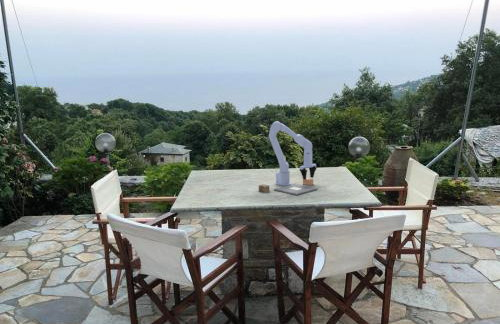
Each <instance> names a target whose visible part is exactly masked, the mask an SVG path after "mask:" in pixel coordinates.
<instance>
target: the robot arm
mask: <svg viewBox="0 0 500 324" xmlns="http://www.w3.org/2000/svg"><path fill="white" fill-rule="evenodd" d="M279 132H284V133H286V134H288V136H290V137H292V138H293V140H294V142H296V143H297V144H298V145H299V146H301V147H303V165H301V166H299V172H300V173H301V176H302V180H303V179H305V180H306V178H307V175H308V174H307V173H308V170H309V178H311V179H314V176H315V172H316V170H317V163H313V148H314V147H313V144H312V142H311V141H310V140H309V139H308V138H305V137H304V135H303V134H297V133H296V132H295V131H293V130H292V129H290V128H289V127H288V126H287V125H285V124H283V123H281V122H280V121H278V120H276V121H274V122H273V123H272V124H271V125H270V127H269V134H268V139H269V141H270V144H271V146H272V149H273V151H274V154H275V156H276V159H277V161H278V165H279V171H277V172H276V174H275V183H274V184H275V185H278V186H281V187H283V186H287V185H291V184H293V183H292V182H290V181H291V178H290V177H291V176H290V175H291V174H290V170H289V167H290V164H289V162H288V161H287V160H286V158H285V156H284V153H283V151H282V148H281V146H280V143H279V141H278V138H277V134H278V133H279Z"/></svg>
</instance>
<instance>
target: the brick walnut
mask: <svg viewBox="0 0 500 324" xmlns="http://www.w3.org/2000/svg"><path fill="white" fill-rule="evenodd" d="M258 192H262V193H268V192H270V185H268V184H266V183H265V184H264V183H262V184H258Z"/></svg>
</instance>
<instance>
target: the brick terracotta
mask: <svg viewBox="0 0 500 324" xmlns="http://www.w3.org/2000/svg"><path fill="white" fill-rule="evenodd" d="M302 185H304V186H313V185H314V178H311V177H306V180H305V179H303V178H302Z"/></svg>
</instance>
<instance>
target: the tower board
mask: <svg viewBox="0 0 500 324" xmlns="http://www.w3.org/2000/svg"><path fill="white" fill-rule="evenodd" d="M273 190H274V191H275V192H276V191H277V192H280V193H284V194H288V195H292V196H300V195H304V194H308V193H310V192H314V191H315V192H316V191H317V190H318V187H312V186H310V185H305V184H299V183H292V184H291V185H287V186H279V187H275V188H273Z"/></svg>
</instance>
